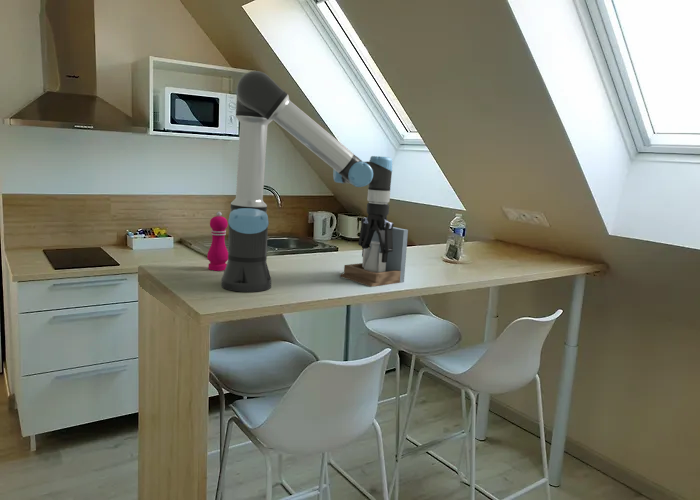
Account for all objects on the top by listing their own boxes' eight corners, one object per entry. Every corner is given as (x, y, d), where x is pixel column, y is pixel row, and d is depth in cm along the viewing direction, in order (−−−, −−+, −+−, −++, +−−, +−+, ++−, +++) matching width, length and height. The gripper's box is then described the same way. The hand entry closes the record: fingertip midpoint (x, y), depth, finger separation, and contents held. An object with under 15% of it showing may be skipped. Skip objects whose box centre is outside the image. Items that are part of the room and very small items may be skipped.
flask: (367, 267, 204) (369, 239, 203) (386, 270, 202) (388, 242, 200) (359, 271, 198) (361, 242, 196) (380, 274, 195) (382, 244, 193)
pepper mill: (202, 268, 201) (204, 210, 197) (220, 266, 206) (222, 210, 203) (214, 272, 196) (215, 213, 192) (232, 270, 201) (234, 212, 198)
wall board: (399, 282, 197) (403, 230, 194) (368, 273, 209) (371, 223, 206) (403, 282, 199) (408, 229, 196) (372, 272, 211) (375, 223, 208)
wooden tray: (371, 286, 189) (372, 274, 188) (340, 276, 201) (341, 265, 200) (399, 282, 197) (400, 271, 197) (368, 273, 209) (368, 262, 209)
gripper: (407, 205, 191) (402, 274, 194) (366, 199, 206) (362, 262, 209) (391, 206, 186) (386, 276, 190) (350, 199, 201) (346, 264, 205)
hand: (373, 269), depth 200 cm, fingers closed on flask, 7 cm apart
